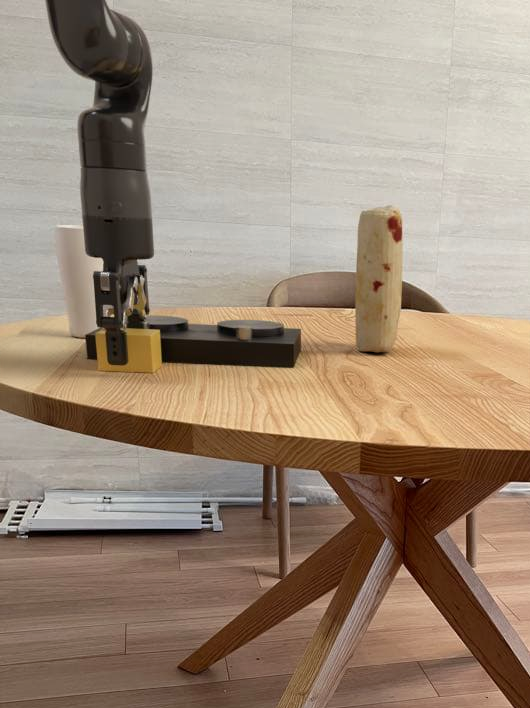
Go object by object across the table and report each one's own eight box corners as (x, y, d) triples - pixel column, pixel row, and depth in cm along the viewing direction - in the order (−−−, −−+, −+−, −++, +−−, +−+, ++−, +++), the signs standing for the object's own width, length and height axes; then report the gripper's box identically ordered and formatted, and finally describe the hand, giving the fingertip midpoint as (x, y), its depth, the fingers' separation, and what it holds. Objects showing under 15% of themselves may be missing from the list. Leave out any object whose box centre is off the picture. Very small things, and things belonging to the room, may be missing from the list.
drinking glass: (61, 339, 117) (50, 226, 111) (68, 332, 123) (57, 224, 117) (112, 340, 118) (103, 228, 113) (116, 333, 124) (107, 227, 119)
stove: (87, 358, 104) (83, 321, 103) (117, 341, 117) (114, 308, 115) (293, 367, 106) (293, 331, 104) (300, 350, 119) (301, 317, 117)
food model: (402, 357, 117) (410, 206, 110) (356, 355, 117) (360, 203, 109) (395, 346, 126) (402, 206, 119) (352, 345, 126) (356, 203, 118)
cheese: (98, 370, 98) (95, 332, 96) (109, 363, 102) (106, 327, 100) (153, 372, 98) (150, 335, 96) (162, 365, 103) (159, 329, 101)
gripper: (101, 211, 99) (112, 348, 105) (62, 211, 86) (76, 368, 92) (165, 215, 100) (172, 351, 106) (135, 215, 87) (145, 370, 93)
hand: (127, 358), depth 99 cm, fingers open, 8 cm apart
